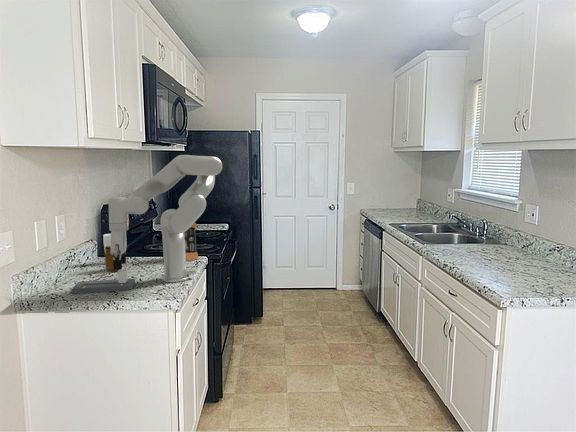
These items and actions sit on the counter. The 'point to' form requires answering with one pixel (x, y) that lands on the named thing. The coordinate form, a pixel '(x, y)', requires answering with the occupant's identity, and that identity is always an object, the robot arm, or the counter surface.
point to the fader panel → (102, 286)
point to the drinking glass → (107, 240)
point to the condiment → (109, 260)
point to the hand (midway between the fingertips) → (119, 266)
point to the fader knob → (122, 276)
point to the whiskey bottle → (190, 243)
